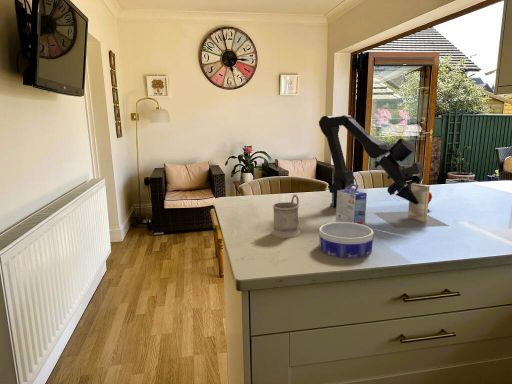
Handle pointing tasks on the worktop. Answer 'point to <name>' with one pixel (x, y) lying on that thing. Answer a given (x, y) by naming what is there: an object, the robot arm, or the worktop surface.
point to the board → (421, 208)
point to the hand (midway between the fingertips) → (421, 202)
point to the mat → (407, 220)
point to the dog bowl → (345, 239)
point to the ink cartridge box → (351, 205)
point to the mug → (286, 219)
